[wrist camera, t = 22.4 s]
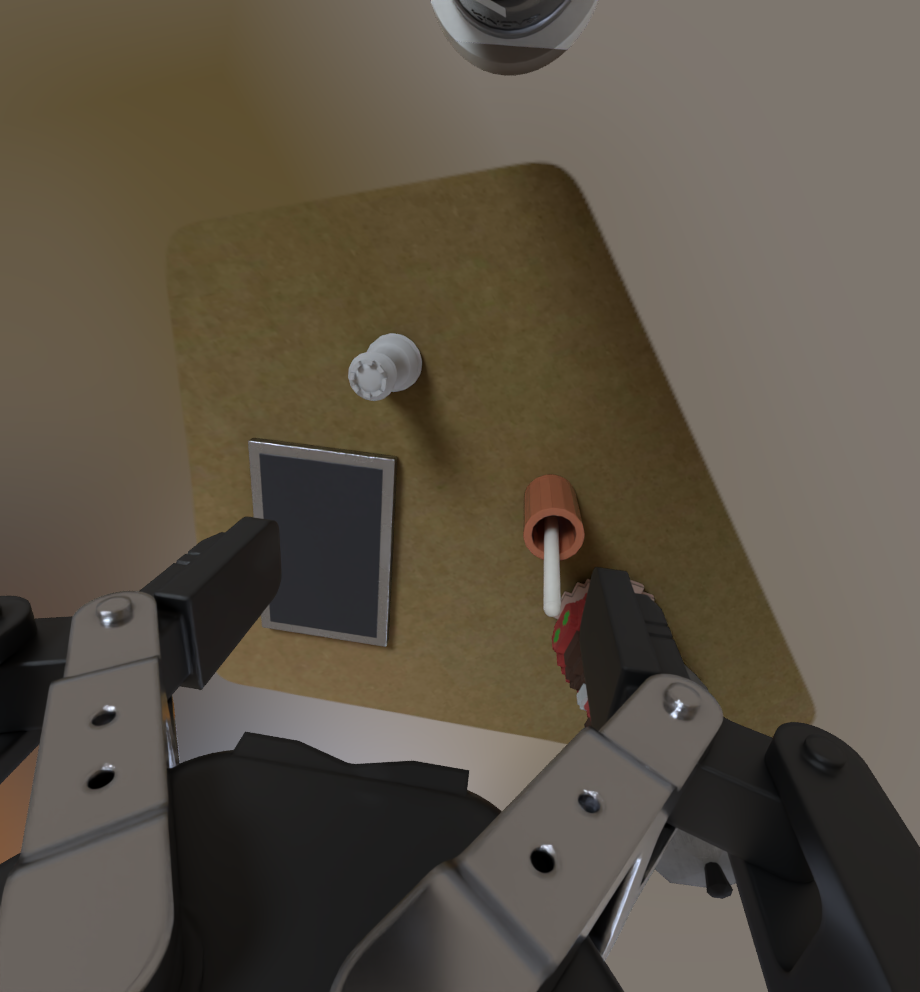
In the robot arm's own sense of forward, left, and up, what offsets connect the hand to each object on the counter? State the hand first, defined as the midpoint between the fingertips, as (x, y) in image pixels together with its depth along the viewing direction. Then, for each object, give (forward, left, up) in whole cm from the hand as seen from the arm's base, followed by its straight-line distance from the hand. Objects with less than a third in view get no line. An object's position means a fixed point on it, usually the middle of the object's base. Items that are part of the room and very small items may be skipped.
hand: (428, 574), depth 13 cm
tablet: (+18, -14, -30) cm, 38 cm away
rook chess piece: (0, -8, -30) cm, 31 cm away
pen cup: (+10, +6, -30) cm, 32 cm away
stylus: (+10, +6, -30) cm, 32 cm away
